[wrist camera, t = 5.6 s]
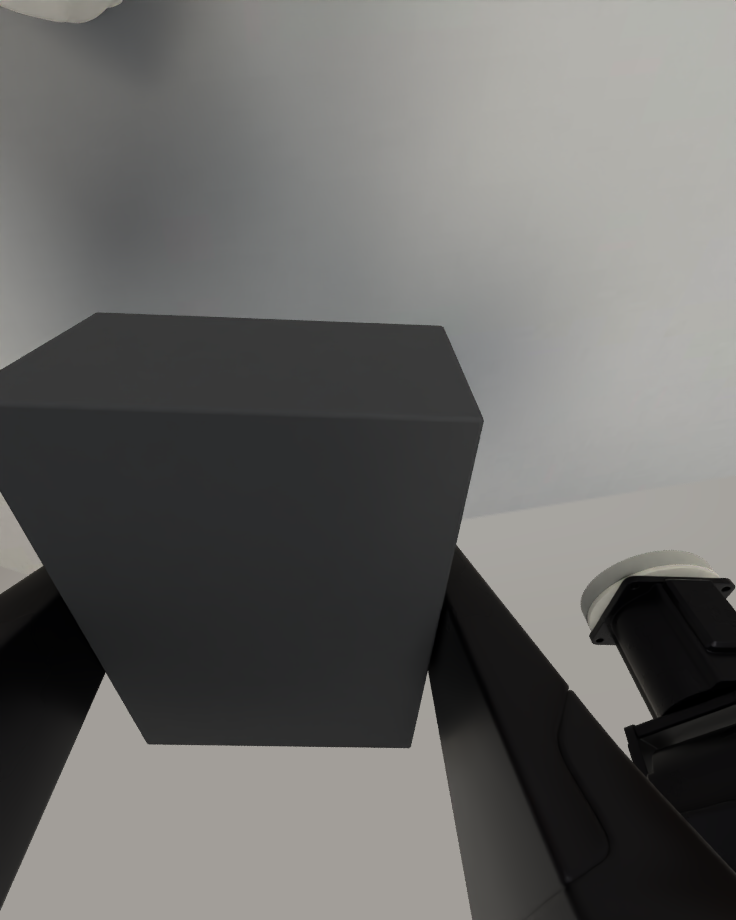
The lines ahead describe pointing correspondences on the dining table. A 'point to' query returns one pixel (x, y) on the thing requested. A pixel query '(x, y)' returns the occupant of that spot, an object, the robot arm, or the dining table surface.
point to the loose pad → (247, 515)
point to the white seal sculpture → (60, 9)
